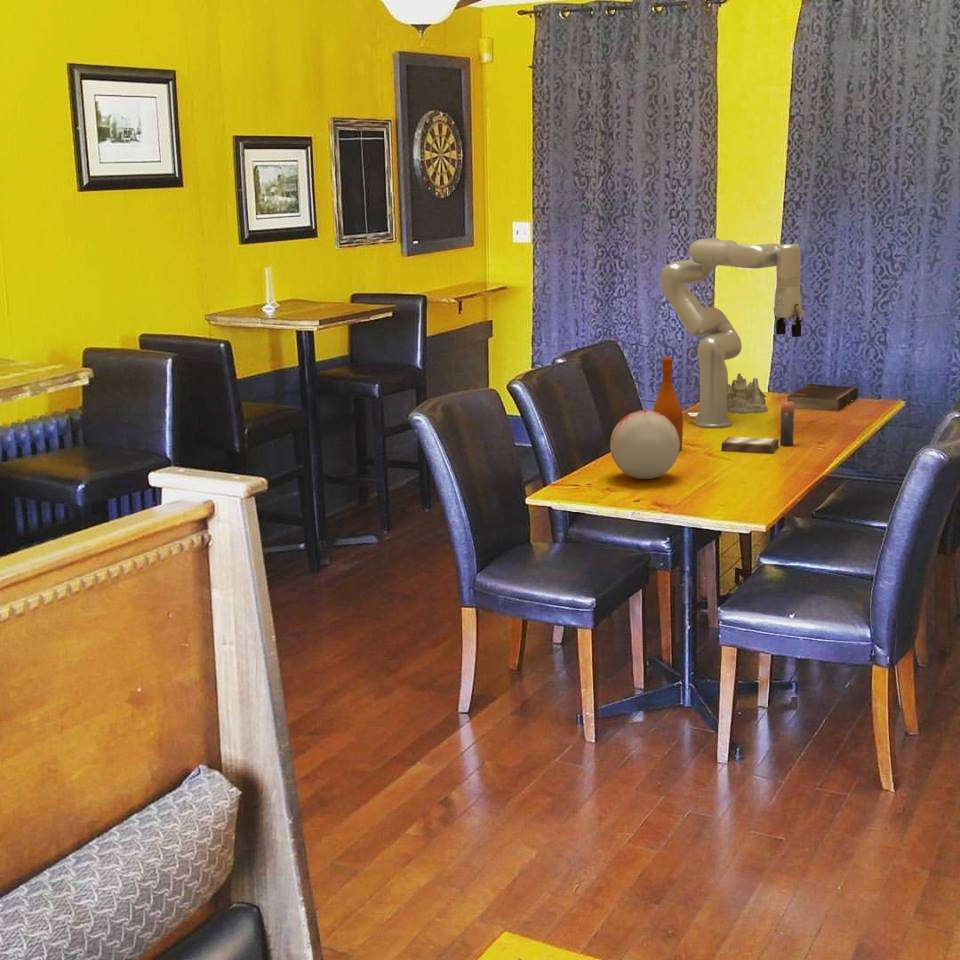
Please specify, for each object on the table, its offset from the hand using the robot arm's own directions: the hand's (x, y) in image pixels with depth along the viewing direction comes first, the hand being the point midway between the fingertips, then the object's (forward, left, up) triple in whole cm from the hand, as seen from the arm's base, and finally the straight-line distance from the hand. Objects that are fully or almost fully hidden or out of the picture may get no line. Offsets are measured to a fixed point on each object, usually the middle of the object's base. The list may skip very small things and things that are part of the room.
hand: (788, 335), depth 402 cm
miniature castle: (-23, +41, -34) cm, 57 cm away
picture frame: (-7, -25, -33) cm, 42 cm away
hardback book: (+3, +60, -34) cm, 69 cm away
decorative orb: (-28, -72, -33) cm, 84 cm away
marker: (+3, -17, -33) cm, 37 cm away
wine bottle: (-32, -33, -33) cm, 57 cm away
